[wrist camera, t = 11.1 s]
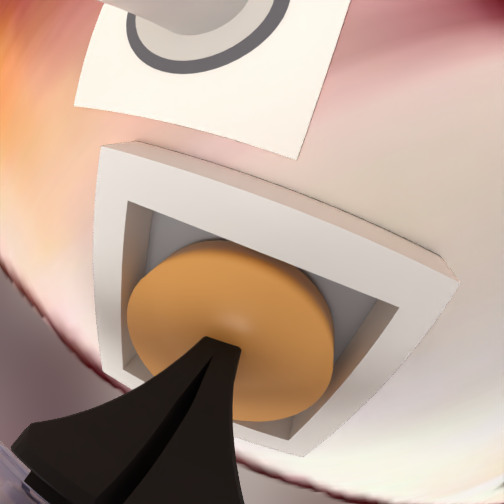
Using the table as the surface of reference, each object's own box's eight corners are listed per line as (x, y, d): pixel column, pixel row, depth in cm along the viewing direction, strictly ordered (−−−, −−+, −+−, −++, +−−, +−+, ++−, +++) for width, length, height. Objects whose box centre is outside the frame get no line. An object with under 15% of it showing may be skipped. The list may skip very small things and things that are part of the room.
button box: (440, 255, 8) (460, 282, 7) (307, 429, 14) (302, 457, 12) (136, 141, 10) (101, 145, 8) (121, 350, 15) (102, 371, 13)
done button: (373, 292, 9) (379, 320, 7) (287, 413, 13) (282, 438, 11) (159, 208, 10) (132, 222, 8) (143, 352, 13) (128, 372, 12)
